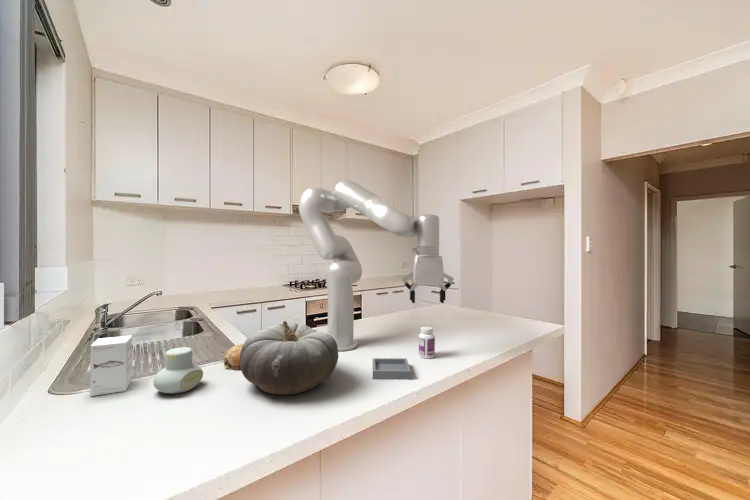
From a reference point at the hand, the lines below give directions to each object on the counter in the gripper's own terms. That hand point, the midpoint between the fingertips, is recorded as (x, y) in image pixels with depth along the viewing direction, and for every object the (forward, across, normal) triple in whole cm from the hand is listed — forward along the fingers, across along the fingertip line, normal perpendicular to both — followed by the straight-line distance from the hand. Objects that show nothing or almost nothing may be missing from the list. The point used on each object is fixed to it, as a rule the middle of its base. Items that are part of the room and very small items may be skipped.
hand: (427, 302), depth 112 cm
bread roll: (+18, -59, -8) cm, 62 cm away
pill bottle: (+18, 0, 0) cm, 18 cm away
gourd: (+18, -40, -22) cm, 49 cm away
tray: (+18, -13, -14) cm, 26 cm away
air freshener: (+18, -68, -26) cm, 75 cm away
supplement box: (+18, -85, -26) cm, 91 cm away
